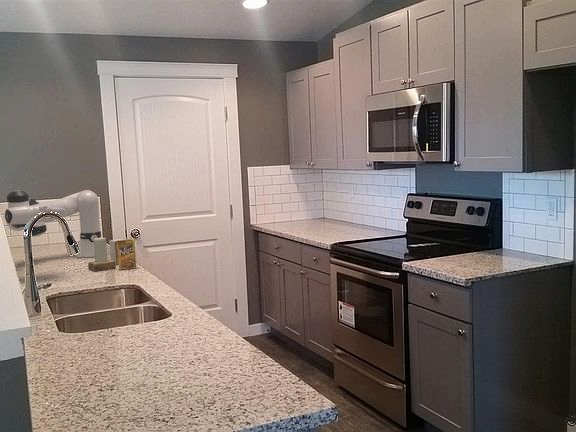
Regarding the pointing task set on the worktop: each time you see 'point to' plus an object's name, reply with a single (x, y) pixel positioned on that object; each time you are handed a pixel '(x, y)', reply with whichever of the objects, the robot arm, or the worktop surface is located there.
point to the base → (101, 265)
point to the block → (100, 250)
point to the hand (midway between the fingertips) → (70, 210)
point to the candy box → (126, 254)
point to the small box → (114, 250)
